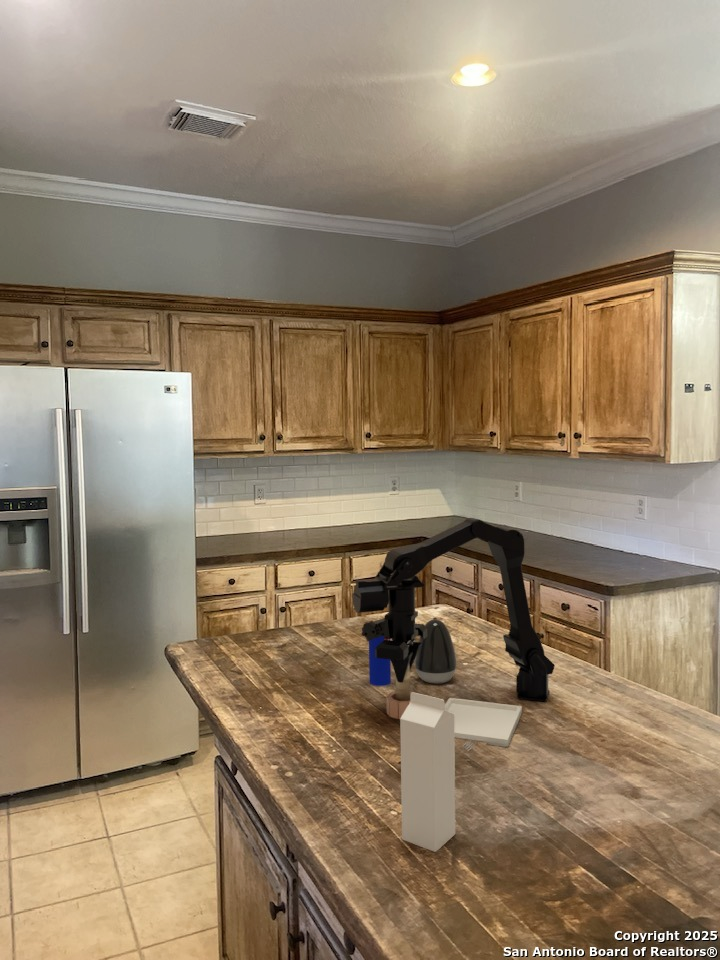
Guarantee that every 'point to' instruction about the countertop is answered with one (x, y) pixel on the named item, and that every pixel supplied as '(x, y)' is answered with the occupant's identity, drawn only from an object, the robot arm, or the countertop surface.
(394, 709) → the cup
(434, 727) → the milk
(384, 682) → the beverage can
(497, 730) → the tray
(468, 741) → the fork
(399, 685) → the dowel
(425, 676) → the dark egg-shaped dome
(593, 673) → the countertop surface
